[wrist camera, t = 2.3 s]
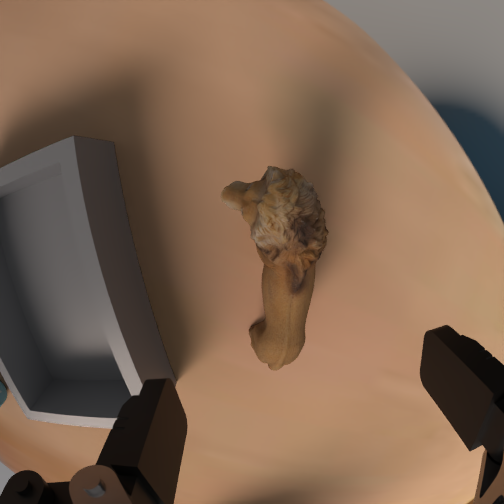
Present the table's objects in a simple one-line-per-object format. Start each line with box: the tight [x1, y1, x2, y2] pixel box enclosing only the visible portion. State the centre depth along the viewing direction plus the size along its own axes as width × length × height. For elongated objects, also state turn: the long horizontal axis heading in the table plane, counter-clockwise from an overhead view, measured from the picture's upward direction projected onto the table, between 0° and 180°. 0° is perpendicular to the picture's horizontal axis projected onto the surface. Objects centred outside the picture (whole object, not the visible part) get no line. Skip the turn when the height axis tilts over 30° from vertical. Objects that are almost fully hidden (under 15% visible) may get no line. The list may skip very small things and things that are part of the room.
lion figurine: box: [221, 166, 328, 371], centre depth 19 cm, size 15×5×9 cm, turn 7°
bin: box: [0, 136, 177, 429], centre depth 20 cm, size 20×14×6 cm
